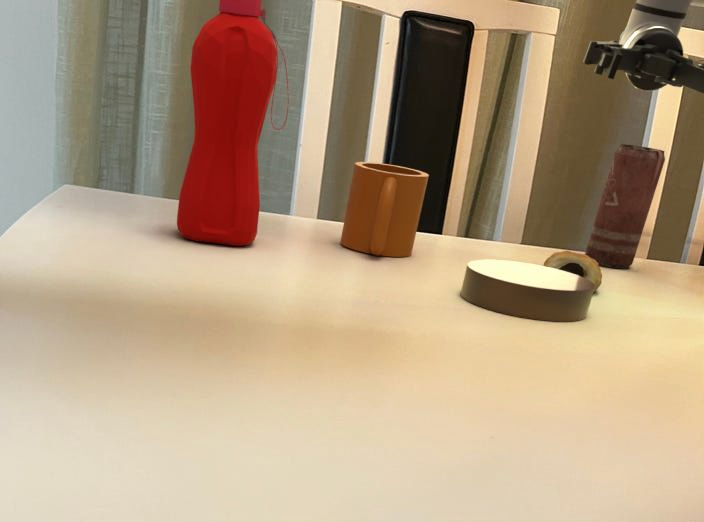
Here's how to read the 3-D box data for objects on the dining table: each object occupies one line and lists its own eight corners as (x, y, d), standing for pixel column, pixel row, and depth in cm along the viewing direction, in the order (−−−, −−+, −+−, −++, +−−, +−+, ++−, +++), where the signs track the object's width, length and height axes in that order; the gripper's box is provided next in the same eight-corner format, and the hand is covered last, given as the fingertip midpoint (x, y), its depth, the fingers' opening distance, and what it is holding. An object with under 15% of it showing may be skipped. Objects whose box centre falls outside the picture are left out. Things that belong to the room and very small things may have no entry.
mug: (324, 251, 117) (338, 167, 112) (349, 237, 127) (363, 159, 122) (399, 265, 115) (416, 180, 110) (419, 250, 125) (435, 171, 120)
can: (616, 271, 128) (653, 150, 121) (574, 259, 132) (607, 142, 125) (641, 268, 132) (678, 151, 125) (599, 257, 136) (633, 143, 128)
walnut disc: (613, 320, 103) (622, 290, 101) (519, 323, 97) (527, 291, 95) (525, 287, 112) (533, 259, 111) (435, 288, 106) (441, 258, 105)
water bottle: (271, 253, 112) (306, -12, 99) (173, 240, 112) (196, -27, 99) (269, 237, 120) (301, -9, 107) (178, 226, 120) (199, -23, 107)
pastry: (541, 272, 121) (551, 239, 119) (598, 283, 120) (609, 250, 118) (536, 286, 113) (546, 251, 111) (597, 298, 112) (608, 262, 110)
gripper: (724, 108, 145) (750, 137, 128) (556, 64, 146) (559, 87, 130) (751, 50, 140) (781, 72, 124) (577, 5, 142) (583, 21, 125)
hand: (667, 80), depth 127 cm, fingers open, 13 cm apart
